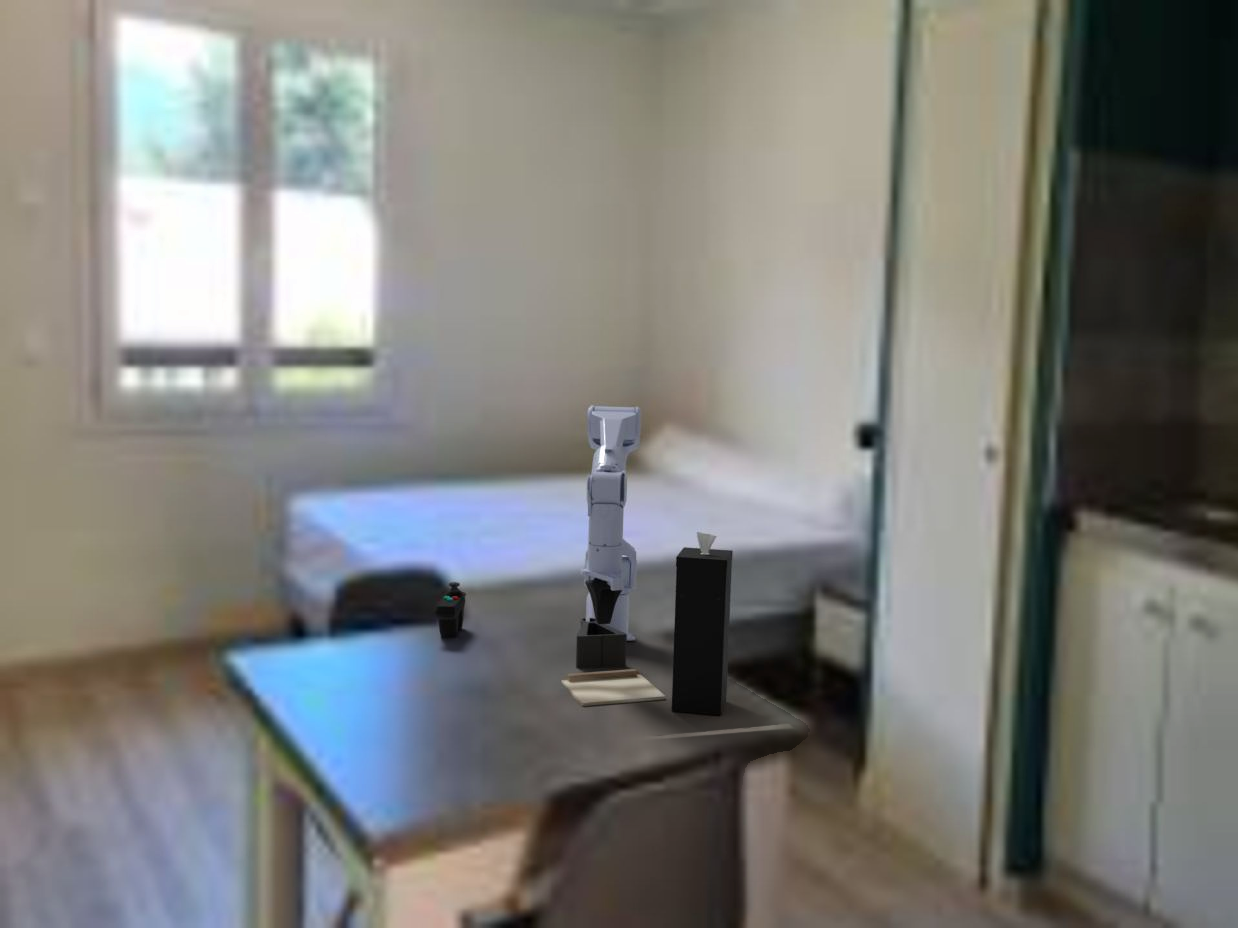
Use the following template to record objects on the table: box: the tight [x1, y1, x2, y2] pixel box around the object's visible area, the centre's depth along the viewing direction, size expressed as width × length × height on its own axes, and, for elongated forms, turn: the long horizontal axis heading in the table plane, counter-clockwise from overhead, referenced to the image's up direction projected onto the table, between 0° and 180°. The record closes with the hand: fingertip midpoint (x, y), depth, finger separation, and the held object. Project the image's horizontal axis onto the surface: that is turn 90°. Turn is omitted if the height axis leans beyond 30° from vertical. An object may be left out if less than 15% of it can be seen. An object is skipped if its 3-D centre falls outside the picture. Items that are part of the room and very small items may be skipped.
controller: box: [434, 581, 467, 638], centre depth 220 cm, size 4×12×10 cm, turn 177°
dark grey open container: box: [575, 617, 628, 669], centre depth 211 cm, size 9×6×12 cm
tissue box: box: [671, 531, 734, 716], centre depth 185 cm, size 8×8×28 cm
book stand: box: [561, 668, 666, 707], centre depth 193 cm, size 12×14×2 cm
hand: (603, 623), depth 197 cm, fingers closed
